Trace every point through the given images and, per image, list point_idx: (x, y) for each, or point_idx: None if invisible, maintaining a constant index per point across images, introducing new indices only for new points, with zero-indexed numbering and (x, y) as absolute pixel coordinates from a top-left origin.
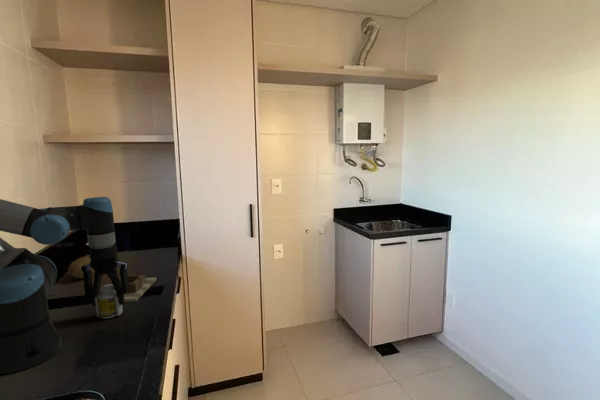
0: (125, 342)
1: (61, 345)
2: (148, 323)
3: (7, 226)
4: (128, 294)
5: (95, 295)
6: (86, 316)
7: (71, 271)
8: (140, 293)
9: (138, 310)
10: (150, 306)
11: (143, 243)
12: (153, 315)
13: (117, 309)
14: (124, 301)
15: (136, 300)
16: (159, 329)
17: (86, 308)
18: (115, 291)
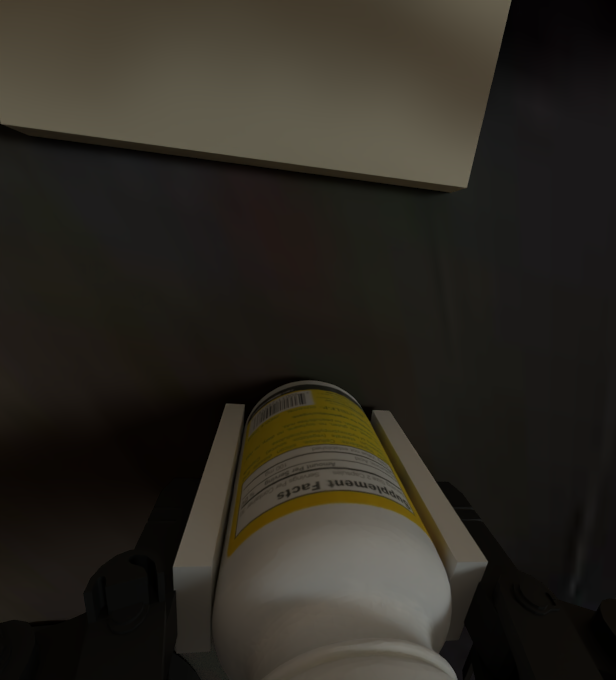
0: (463, 654)
1: (194, 678)
2: (550, 540)
3: None
4: (356, 11)
5: (168, 676)
6: (119, 405)
7: None
8: (499, 26)
9: (486, 384)
10: (566, 336)
11: None
12: (579, 466)
13: None
14: (338, 176)
15: (454, 190)
16: (596, 589)
17: (2, 245)
18: (439, 613)
